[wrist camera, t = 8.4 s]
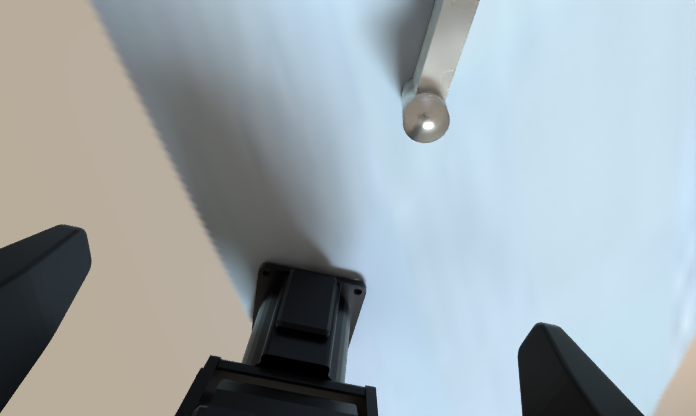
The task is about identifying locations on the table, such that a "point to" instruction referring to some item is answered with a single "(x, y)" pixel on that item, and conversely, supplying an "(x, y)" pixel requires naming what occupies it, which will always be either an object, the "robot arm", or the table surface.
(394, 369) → the table surface
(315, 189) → the table surface
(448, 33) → the steel rail
